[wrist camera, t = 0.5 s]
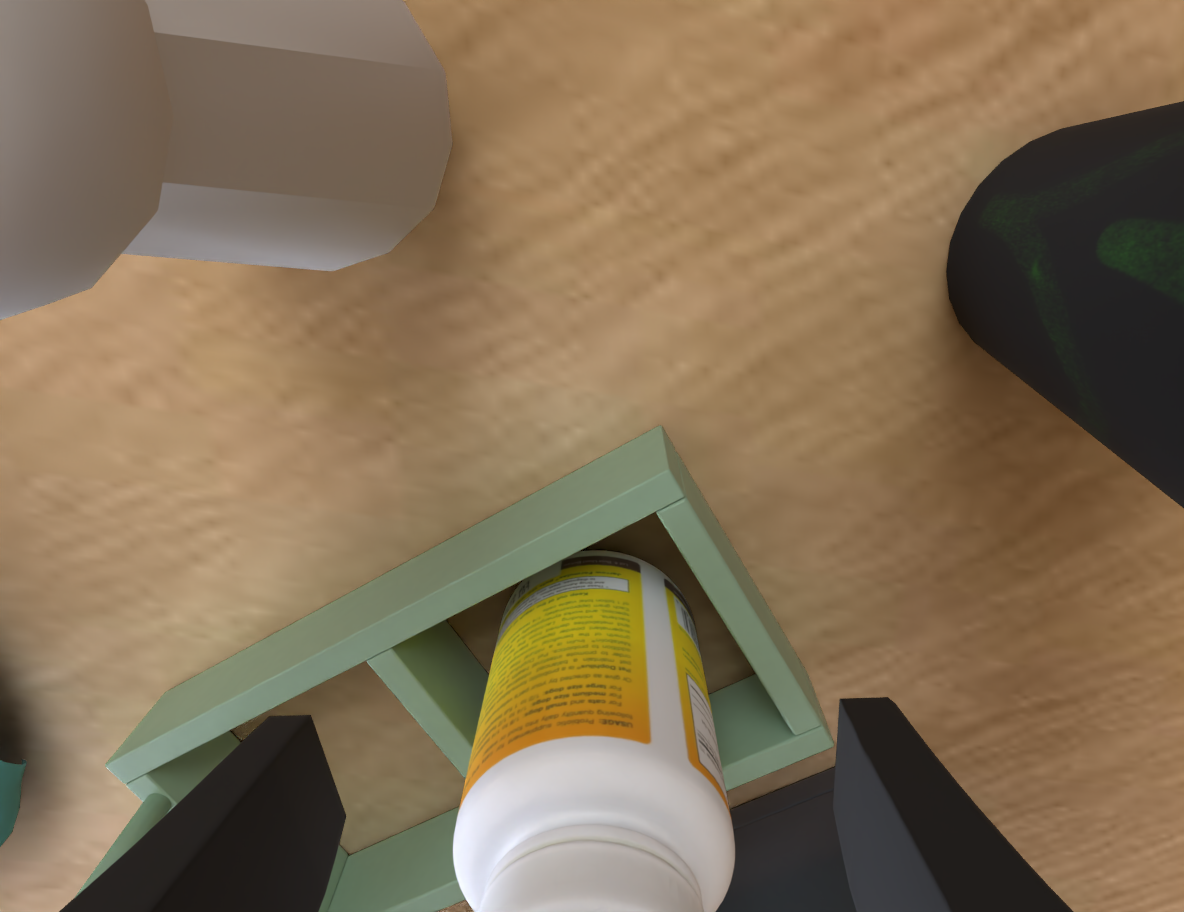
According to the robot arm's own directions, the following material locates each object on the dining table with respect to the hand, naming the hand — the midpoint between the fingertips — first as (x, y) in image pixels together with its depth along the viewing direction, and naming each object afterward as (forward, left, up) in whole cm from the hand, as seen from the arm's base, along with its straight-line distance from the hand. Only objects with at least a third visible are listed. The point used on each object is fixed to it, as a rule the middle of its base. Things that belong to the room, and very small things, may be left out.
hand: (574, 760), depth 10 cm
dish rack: (-7, -4, -10) cm, 13 cm away
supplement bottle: (-2, -4, -11) cm, 12 cm away
